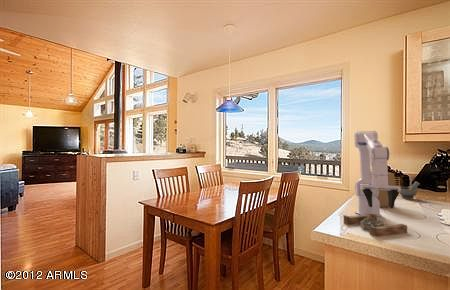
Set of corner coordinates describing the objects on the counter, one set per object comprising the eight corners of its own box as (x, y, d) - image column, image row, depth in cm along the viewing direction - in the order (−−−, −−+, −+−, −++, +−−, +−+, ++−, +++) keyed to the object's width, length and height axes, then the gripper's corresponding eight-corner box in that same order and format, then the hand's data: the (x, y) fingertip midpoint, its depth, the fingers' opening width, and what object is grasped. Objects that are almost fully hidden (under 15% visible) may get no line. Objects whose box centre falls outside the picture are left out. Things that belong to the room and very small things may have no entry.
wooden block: (384, 203, 142) (384, 171, 142) (395, 207, 132) (395, 173, 132) (368, 203, 143) (367, 171, 142) (377, 207, 133) (376, 173, 133)
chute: (372, 219, 112) (372, 212, 112) (407, 232, 95) (407, 224, 95) (343, 223, 108) (343, 215, 108) (374, 236, 91) (374, 228, 91)
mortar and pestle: (398, 198, 152) (398, 181, 152) (398, 196, 160) (398, 179, 160) (420, 201, 145) (420, 182, 145) (419, 198, 153) (419, 180, 153)
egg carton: (369, 223, 108) (369, 214, 107) (387, 228, 101) (387, 219, 101) (357, 227, 102) (357, 218, 102) (375, 233, 96) (375, 223, 95)
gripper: (363, 175, 96) (364, 207, 95) (404, 176, 92) (405, 210, 91) (358, 174, 102) (359, 204, 101) (395, 175, 99) (396, 207, 98)
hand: (380, 207), depth 97 cm, fingers open, 7 cm apart
